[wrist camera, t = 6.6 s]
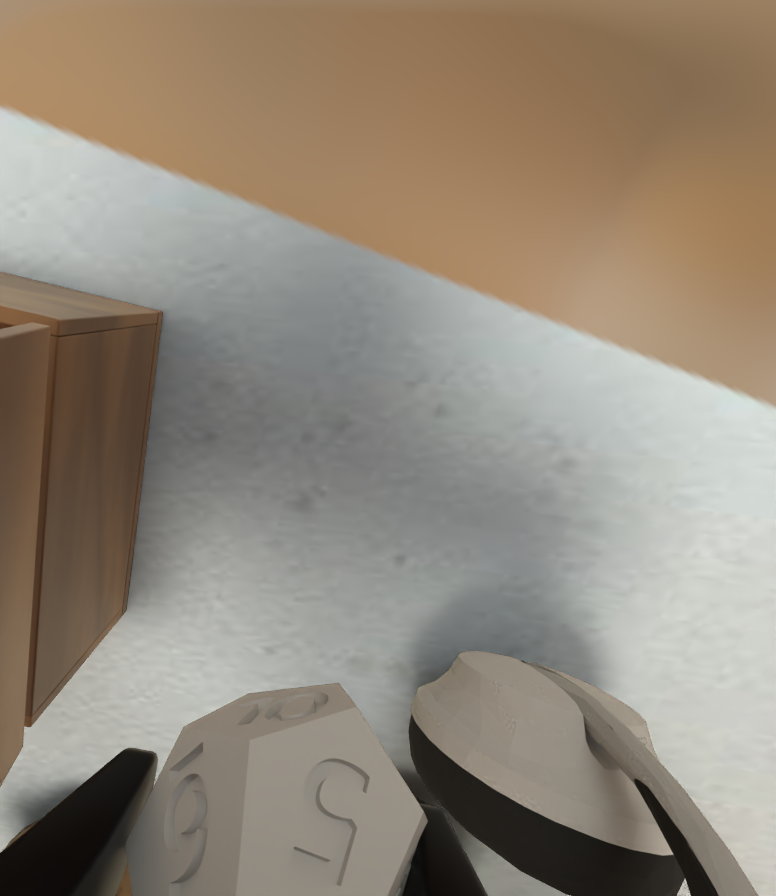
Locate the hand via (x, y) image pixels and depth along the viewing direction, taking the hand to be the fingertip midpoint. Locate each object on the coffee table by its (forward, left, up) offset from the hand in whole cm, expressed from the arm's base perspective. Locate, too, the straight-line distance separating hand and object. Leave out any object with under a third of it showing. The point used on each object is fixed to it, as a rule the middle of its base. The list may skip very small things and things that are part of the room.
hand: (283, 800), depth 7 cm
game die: (0, 0, -1) cm, 1 cm away
